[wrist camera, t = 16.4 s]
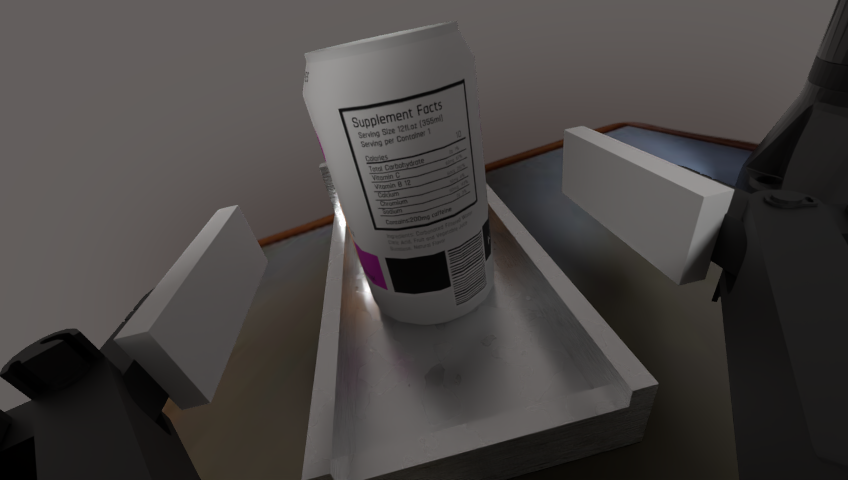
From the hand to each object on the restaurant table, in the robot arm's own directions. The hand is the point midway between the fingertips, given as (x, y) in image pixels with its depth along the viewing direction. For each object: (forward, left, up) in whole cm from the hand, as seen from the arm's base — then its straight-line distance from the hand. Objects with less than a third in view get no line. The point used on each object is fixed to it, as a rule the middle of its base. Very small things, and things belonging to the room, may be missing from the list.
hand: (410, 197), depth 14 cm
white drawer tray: (-2, -4, -10) cm, 11 cm away
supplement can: (-2, -5, -10) cm, 11 cm away
